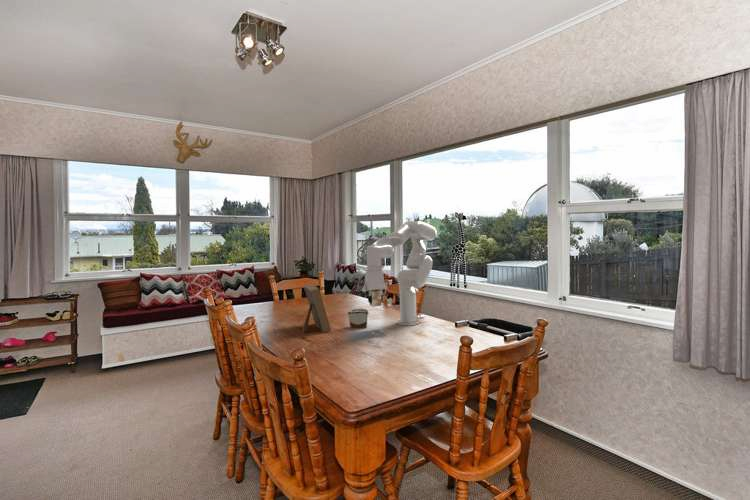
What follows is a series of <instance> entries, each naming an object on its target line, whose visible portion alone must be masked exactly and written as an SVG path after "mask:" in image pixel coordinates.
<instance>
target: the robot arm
mask: <svg viewBox="0 0 750 500" xmlns="http://www.w3.org/2000/svg"><path fill="white" fill-rule="evenodd" d="M437 233H438V232H437V230H436V228H435V227H434V226H433V225H430V224H429V223H426V222H423V221H420V220H418V221H417V220H414V221H413V220H410V221H406V222H404V223H403V224H402V225H401V226H399V227H398V228H397V229H396V230H395V231H393V232H391V233H390V234H387V235H384V236H382V237H380V238H378V239H377V240H376V241H375V242H373V243H371V245H368V246H367V247H366V264H367V265H366V266H367V267H366V269H367V271H365V274H364V285H363V287H362V289H361V291H362V292H363V293H365V294H366V295H367V302H368V303H369V304H370V303H372V296H371V291H372V290H380V291H381V303H383V300H384V299H383V295H384V293H385V292H386V291H387V290H388V289H389V287H388V286H387V284H386V283H385V276H384V271H383V269H384V268H385V267H384V265H382V259H390V258H392V257H393V256H394V254H395V249H394V248H396V247H399V246H402V245H403V244H404V243H406V242H407V240H409V239H411V242H412V248H411V250H410V253H409V256H408V257H407V260H406V263H405V265H406V269H402V270H400V271H399V272H398V273H397V278H396V279H397V283H398V288H399V313H400V314H399V316H400V317H399V320H397V324H398V325H401V326H416V325H419V323H420V320H423V319H425V315H423V314H422V315H418V314H417V292H416V290H415V288H422V287H424V286H425V285H426V283H427V281H428V278H429V276H430V274H431V271H432V270H433V269H432V268H433V259H432V258H431V256H429V255H427V254H426V252H427V248H426V245H425V243H424V241H427V242H428V241H433V240H435V239H436V238H437V236H438V235H437Z"/></svg>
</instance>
